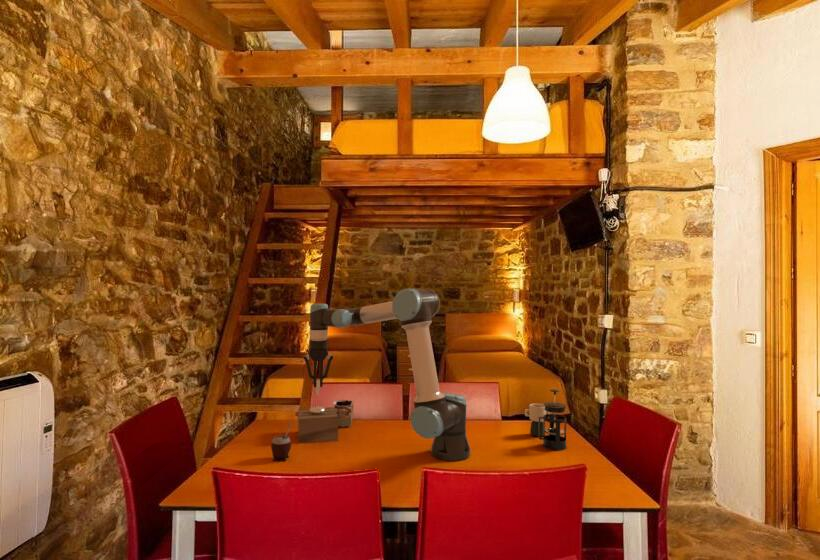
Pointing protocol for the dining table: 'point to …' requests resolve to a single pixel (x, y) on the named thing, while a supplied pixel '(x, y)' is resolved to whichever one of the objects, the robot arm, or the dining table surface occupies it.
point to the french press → (554, 438)
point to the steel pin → (317, 410)
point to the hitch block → (317, 426)
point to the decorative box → (344, 412)
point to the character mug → (536, 417)
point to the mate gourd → (281, 446)
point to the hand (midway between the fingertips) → (317, 394)
